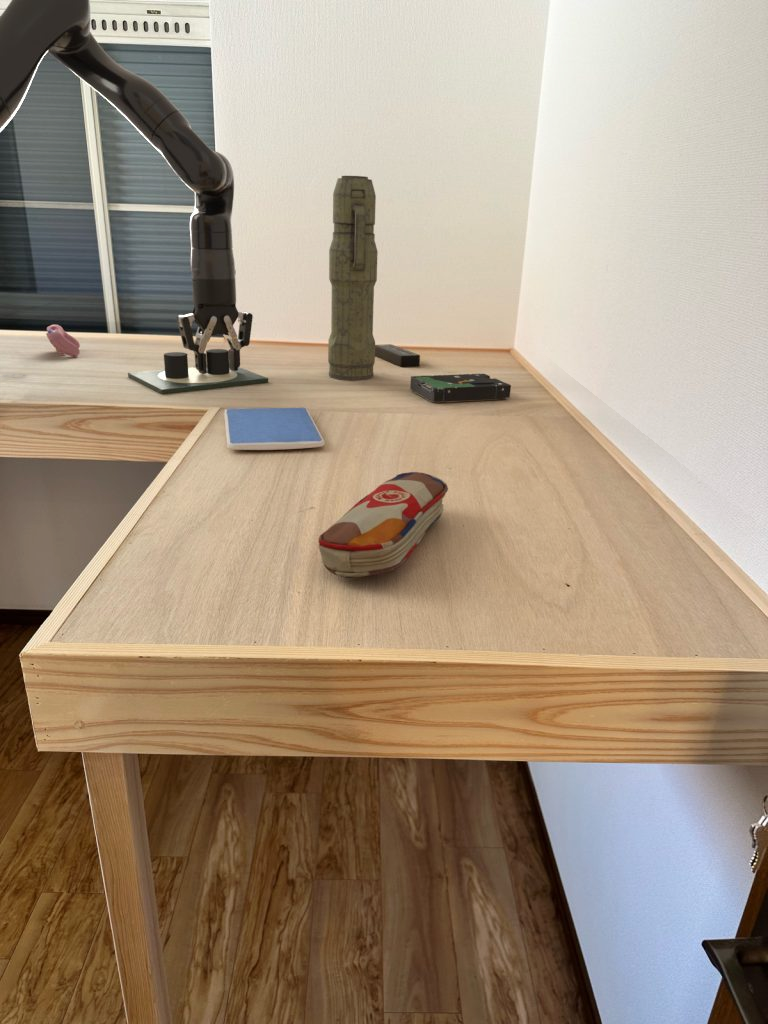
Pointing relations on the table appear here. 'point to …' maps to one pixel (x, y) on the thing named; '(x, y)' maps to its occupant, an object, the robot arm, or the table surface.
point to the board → (195, 380)
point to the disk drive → (459, 387)
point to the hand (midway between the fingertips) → (218, 371)
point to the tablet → (271, 429)
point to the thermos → (352, 279)
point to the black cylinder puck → (217, 361)
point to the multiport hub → (397, 355)
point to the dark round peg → (176, 365)
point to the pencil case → (383, 526)
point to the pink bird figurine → (62, 341)
